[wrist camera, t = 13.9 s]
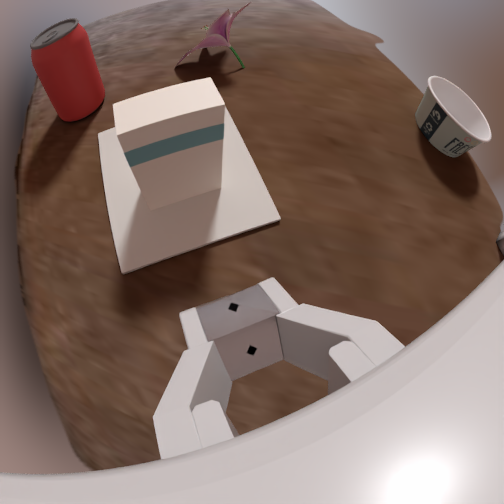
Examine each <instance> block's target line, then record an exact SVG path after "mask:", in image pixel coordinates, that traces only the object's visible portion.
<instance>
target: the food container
mask: <svg viewBox="0 0 504 504" xmlns="http://www.w3.org/2000/svg"><path fill="white" fill-rule="evenodd" d="M415 117H416V122H417V124H418V126H419V128H420V130H421V132H422V133H423V134H424V136H425V137H426V138H427V139H428V141H429V142H430V143H431V144H432V145H433V146H434V147H436V148H437V149H438V150H439V151H441V152H442V153H444V154H445V155H447V156H450V157H458V156H460V155H462V154H463V153H465V152H467V151H468V150H470V149H472V148H474V147H475V146H477V145H479V144H480V143H482V142H484V143H487V142H489V141H490V140H491V131H490V127H489V125H488V123H487V120H486V119H485V117H484V115H483V113H482V112H481V111H480V109H479V108H478V107H477V105H476V104H475V103H474V102H473V101H472V100H471V99H470V97H469V96H467V95H466V94H465V93H464V92H463V91H462V90H461V89H460V88H458V87H457V86H456V85H454V84H453V83H451V82H450V81H448V80H446V79H444V78H441V77H438V76H431V77H429V79H428V87H427V90H426V92H425V94H424V96H423V99H422V101H421V103H420V105H419V107H418V109H417V112H416V115H415Z"/></svg>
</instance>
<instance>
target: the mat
mask: <svg viewBox="0 0 504 504" xmlns="http://www.w3.org/2000/svg"><path fill="white" fill-rule="evenodd" d="M98 139H99V149H100V159H101V167H102V175H103V182H104V189H105V195H106V201H107V207H108V213H109V218H110V223H111V229H112V233H113V238H114V243H115V247H116V252H117V256H118V260H119V264H120V268H121V272H122V274H126V273H129V272H132V271H134V270H137V269H140V268H143V267H146V266H148V265H151V264H154V263H157V262H160V261H162V260H165V259H168V258H171V257H174V256H177V255H179V254H182V253H185V252H188V251H191V250H194V249H197V248H200V247H203V246H205V245H208V244H211V243H214V242H217V241H220V240H223V239H226V238H229V237H232V236H235V235H238V234H241V233H244V232H247V231H250V230H253V229H256V228H259V227H262V226H265V225H268V224H271V223H274V222H277V221H280V219H281V218H280V216H279V214H278V212H277V210H276V207H275V205H274V203H273V201H272V199H271V197H270V195H269V193H268V191H267V188H266V186H265V184H264V182H263V180H262V178H261V176H260V174H259V172H258V170H257V168H256V166H255V164H254V162H253V160H252V158H251V156H250V154H249V152H248V150H247V148H246V146H245V144H244V142H243V140H242V138H241V136H240V134H239V132H238V130H237V128H236V126H235V124H234V122H233V120H232V118H231V116H230V114H229V112H228V110H227V109H226V107H225V115H224V139H223V158H222V185H221V188H219V189H216V190H213V191H209V192H206V193H203V194H200V195H197V196H194V197H190V198H187V199H184V200H181V201H178V202H175V203H172V204H169V205H166V206H163V207H160V208H157V209H155V210H152V211H150V209H149V207H148V205H147V203H146V201H145V199H144V197H143V195H142V192H141V190H140V188H139V186H138V184H137V181H136V179H135V177H134V175H133V173H132V170H131V168H130V167H129V164H128V162H127V160H126V157H125V155H124V152H123V149H122V147H121V145H120V142H119V140H118V137H117V134H116V127H114V128H111V129H109V130H106V131H104V132H101V133H98Z"/></svg>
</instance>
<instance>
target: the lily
mask: <svg viewBox="0 0 504 504" xmlns="http://www.w3.org/2000/svg"><path fill="white" fill-rule="evenodd" d="M249 4H250V3H249ZM249 4H247V5H245V6H244V7H242V8H241V9H240V10H238V11H237V12H236V13H235V12H234V13H232V15H231V16H230V13H229V9H228V10H227V11H225V12H224V13H223V14H222V15H221V16H219V17H218V18H217V19H216V20H215V21H214V22H213V23H212V24H211V25H210V27H208V26H207V25H206V26H207V27H208V28H207V29H208V30H207V29H205V30H207V33H206V38H205V39H203V40H202V41H201V42H200V43H199V44H198V45H197V46H196V47H195V48H193V49H192V50H190V51H188V52H187V53H186V54H185V55H184V56H183V57H182V58H181V59H180V61H179V62H178V63H177V65H178V64H179V63H180V62H181V61H182V60H183V59H184V58H185V57H186V56H187V55H188V54H189V53H192V52H193V51H194V50H197V49H201V48H208V47H217V46H228V47H229V48H230V49H231V50H232V52H233V53H234V54H235V56H236V57H237V59H238V61H239V62H240V64H241V66H242V68H245V67H244V65H243V63H242V61H241V60H240V58H239V56H238V55H237V53H236V52H235V50H234V49H233V48H232V46H231V45H230V43H229V32H230V27H231V24H232V21H233V20H234V18H235V17H236V16H237V15H238V14H239V12H241V11H242V10H243V9H244V8H245V7H246V6H248V5H249ZM204 27H205V26H204ZM205 28H206V27H205ZM201 29H203V28H201ZM177 65H176V66H177ZM176 66H175V67H176Z"/></svg>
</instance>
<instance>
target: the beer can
mask: <svg viewBox="0 0 504 504" xmlns="http://www.w3.org/2000/svg"><path fill="white" fill-rule="evenodd" d="M30 47H31V49H32V52H31V57H32V63H33V66H34V68H35V71H36V73H37V75H38V77H39V79H40V81H41V83H42V85H43V87H44V89H45V91H46V93H47V95H48V97H49V99H50V101H51V102H52V104H53V106H54V108H55V110H56V112H57V114H58V115H59V117H60V118H61V119H62V120H64V121H69V122H72V121H77V120H80V119H82V118H85V117H87V116H88V115H90V114H91V113H93V112H94V111H95V110H96V109H97V108H98V107H99V106H100V104H101V103H102V102H103V99H104V97H105V89H104V86H103V83H102V80H101V77H100V74H99V71H98V68H97V65H96V62H95V59H94V55H93V52H92V49H91V45H90V42H89V38H88V35H87V32H86V31H85V29H84V28H83V27H82V26H81V25H80V24H79V23H78V20H77V19H75V18H72V19H67V20H64V21H61V22H59V23H56V24H54V25H53V26H51V27H49V28H47V29H46V30H44V31H43V32H41V33H40V34H39V35H38V36H37V37H36V38H35V39H34V40H33V41H32V43H31V45H30Z"/></svg>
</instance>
